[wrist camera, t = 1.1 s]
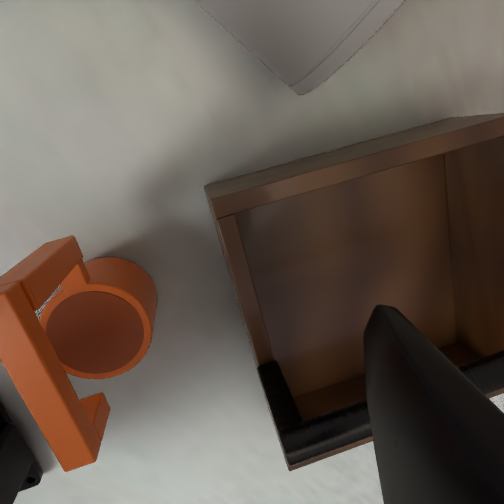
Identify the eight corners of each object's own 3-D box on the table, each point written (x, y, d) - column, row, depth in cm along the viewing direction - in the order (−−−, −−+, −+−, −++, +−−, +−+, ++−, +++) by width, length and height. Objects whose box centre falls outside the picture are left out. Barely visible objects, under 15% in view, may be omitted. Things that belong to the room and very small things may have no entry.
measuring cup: (84, 349, 19) (11, 505, 11) (31, 236, 17) (-111, 325, 9) (168, 323, 20) (159, 454, 11) (126, 209, 18) (77, 270, 9)
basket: (269, 411, 23) (289, 472, 19) (203, 186, 18) (209, 199, 14) (463, 344, 24) (522, 386, 20) (449, 117, 19) (523, 111, 15)
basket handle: (261, 385, 17) (291, 475, 12) (255, 363, 16) (283, 449, 12) (524, 296, 18) (638, 347, 14) (524, 274, 18) (641, 320, 13)
